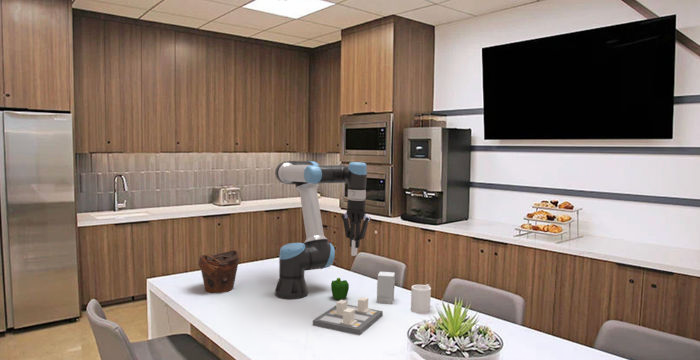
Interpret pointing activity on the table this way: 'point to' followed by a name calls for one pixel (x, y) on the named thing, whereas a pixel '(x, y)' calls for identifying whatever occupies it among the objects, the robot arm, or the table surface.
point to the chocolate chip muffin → (219, 271)
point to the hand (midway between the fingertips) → (354, 254)
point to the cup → (420, 298)
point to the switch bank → (358, 328)
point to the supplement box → (385, 287)
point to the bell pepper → (339, 289)
